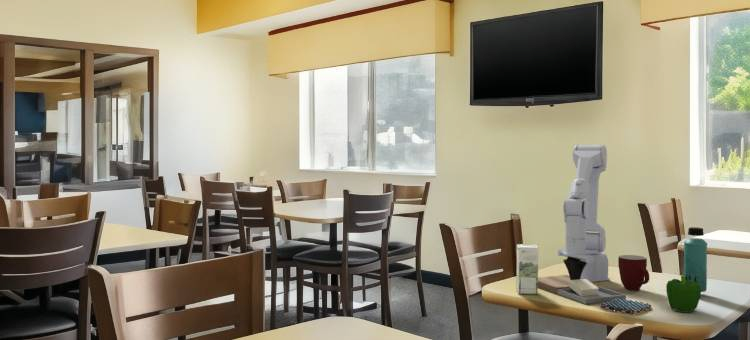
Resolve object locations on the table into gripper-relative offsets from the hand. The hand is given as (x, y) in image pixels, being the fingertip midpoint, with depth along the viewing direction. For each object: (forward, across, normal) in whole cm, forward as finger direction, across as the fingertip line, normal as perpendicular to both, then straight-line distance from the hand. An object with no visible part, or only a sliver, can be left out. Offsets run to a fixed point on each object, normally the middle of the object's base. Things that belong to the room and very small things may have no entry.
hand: (575, 282), depth 200 cm
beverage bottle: (+3, +16, +30) cm, 34 cm away
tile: (+2, +3, 0) cm, 4 cm away
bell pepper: (+3, +28, +13) cm, 31 cm away
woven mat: (+3, +22, 0) cm, 22 cm away
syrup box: (+3, -5, -14) cm, 15 cm away
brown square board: (+3, -6, 0) cm, 7 cm away
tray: (+3, +7, 0) cm, 8 cm away
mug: (+3, +6, +18) cm, 19 cm away
